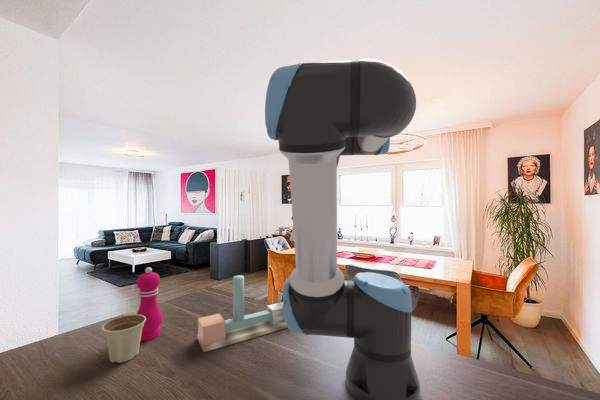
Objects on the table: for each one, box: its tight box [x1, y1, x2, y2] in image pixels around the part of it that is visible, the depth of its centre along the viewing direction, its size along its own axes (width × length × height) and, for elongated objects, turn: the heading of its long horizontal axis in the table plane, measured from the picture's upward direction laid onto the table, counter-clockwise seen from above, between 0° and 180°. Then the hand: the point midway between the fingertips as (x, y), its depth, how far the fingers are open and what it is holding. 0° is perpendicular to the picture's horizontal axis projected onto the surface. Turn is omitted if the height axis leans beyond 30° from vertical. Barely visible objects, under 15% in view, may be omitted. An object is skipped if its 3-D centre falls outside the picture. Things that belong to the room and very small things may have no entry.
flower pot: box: [101, 314, 146, 364], centre depth 68 cm, size 9×9×9 cm
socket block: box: [197, 313, 226, 346], centre depth 75 cm, size 6×6×5 cm
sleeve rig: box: [196, 301, 289, 353], centre depth 81 cm, size 30×8×6 cm, turn 122°
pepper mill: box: [135, 266, 163, 342], centre depth 78 cm, size 7×7×20 cm
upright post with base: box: [224, 275, 272, 333], centre depth 80 cm, size 21×3×15 cm, turn 122°
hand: (304, 243), depth 86 cm, fingers open, 13 cm apart
